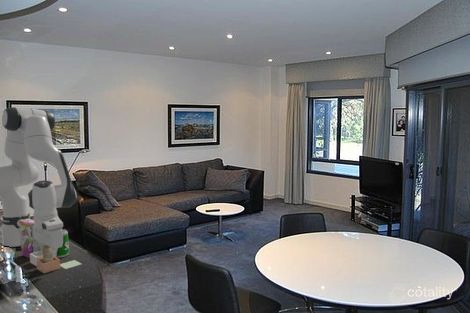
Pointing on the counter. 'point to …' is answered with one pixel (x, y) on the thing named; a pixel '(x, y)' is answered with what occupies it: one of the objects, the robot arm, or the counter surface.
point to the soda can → (63, 246)
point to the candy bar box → (28, 238)
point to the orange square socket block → (48, 265)
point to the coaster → (70, 264)
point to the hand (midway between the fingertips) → (48, 254)
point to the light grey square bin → (35, 257)
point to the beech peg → (47, 254)
